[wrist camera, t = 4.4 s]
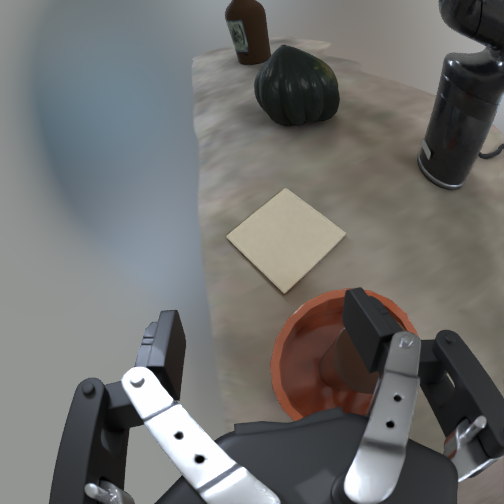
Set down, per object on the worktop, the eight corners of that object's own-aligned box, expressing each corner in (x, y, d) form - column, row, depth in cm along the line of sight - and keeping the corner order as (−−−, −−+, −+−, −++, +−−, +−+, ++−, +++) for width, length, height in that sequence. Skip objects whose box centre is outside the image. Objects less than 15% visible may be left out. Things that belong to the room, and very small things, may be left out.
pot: (338, 284, 31) (346, 260, 25) (420, 360, 24) (446, 352, 19) (251, 367, 28) (238, 362, 22) (335, 450, 22) (343, 467, 16)
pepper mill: (341, 336, 27) (371, 297, 15) (371, 365, 25) (425, 347, 13) (309, 368, 26) (316, 355, 14) (339, 398, 24) (373, 410, 12)
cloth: (285, 189, 38) (285, 187, 38) (346, 235, 33) (346, 233, 33) (226, 237, 36) (225, 236, 36) (284, 294, 31) (284, 293, 31)
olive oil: (257, 50, 67) (242, -18, 45) (280, 56, 62) (267, -19, 40) (229, 61, 65) (209, -10, 43) (251, 68, 60) (232, -13, 38)
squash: (342, 123, 36) (335, 36, 30) (245, 124, 40) (242, 42, 34) (339, 130, 48) (335, 62, 43) (266, 130, 52) (263, 64, 47)
